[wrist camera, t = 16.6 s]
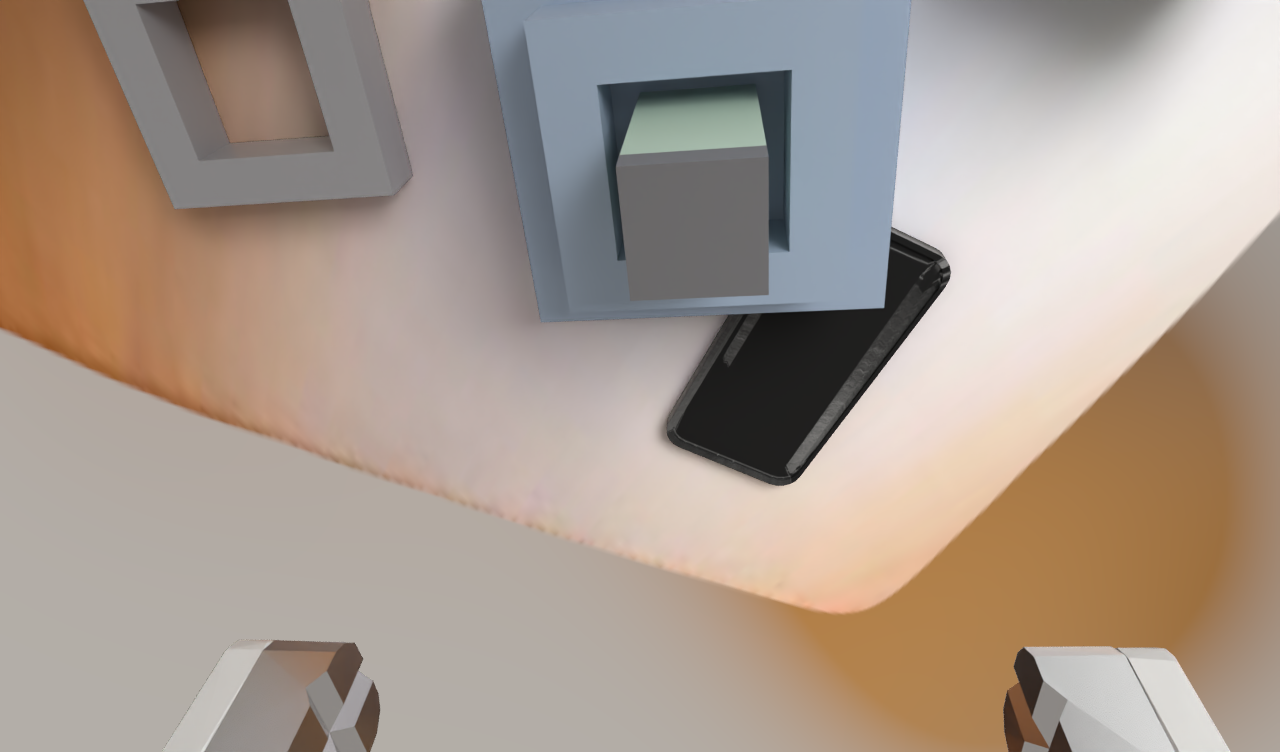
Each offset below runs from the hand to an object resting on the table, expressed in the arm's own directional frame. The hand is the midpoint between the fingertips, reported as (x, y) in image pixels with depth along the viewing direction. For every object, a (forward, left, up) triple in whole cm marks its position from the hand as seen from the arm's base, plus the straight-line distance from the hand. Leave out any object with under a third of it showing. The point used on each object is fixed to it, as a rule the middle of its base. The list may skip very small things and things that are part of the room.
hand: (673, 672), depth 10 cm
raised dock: (0, 0, -27) cm, 27 cm away
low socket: (-3, -18, -27) cm, 33 cm away
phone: (+12, +4, -28) cm, 30 cm away
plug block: (0, 0, -22) cm, 22 cm away
